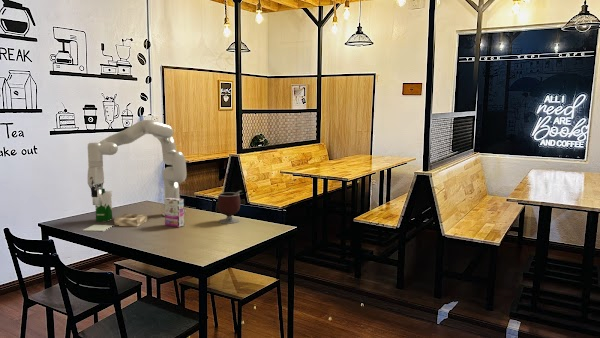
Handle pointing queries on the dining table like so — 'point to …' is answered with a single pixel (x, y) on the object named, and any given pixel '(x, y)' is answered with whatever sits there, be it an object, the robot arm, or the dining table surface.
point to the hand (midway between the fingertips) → (97, 195)
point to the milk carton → (104, 207)
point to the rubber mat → (98, 228)
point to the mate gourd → (229, 206)
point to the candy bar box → (174, 212)
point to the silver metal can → (98, 196)
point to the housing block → (130, 220)
